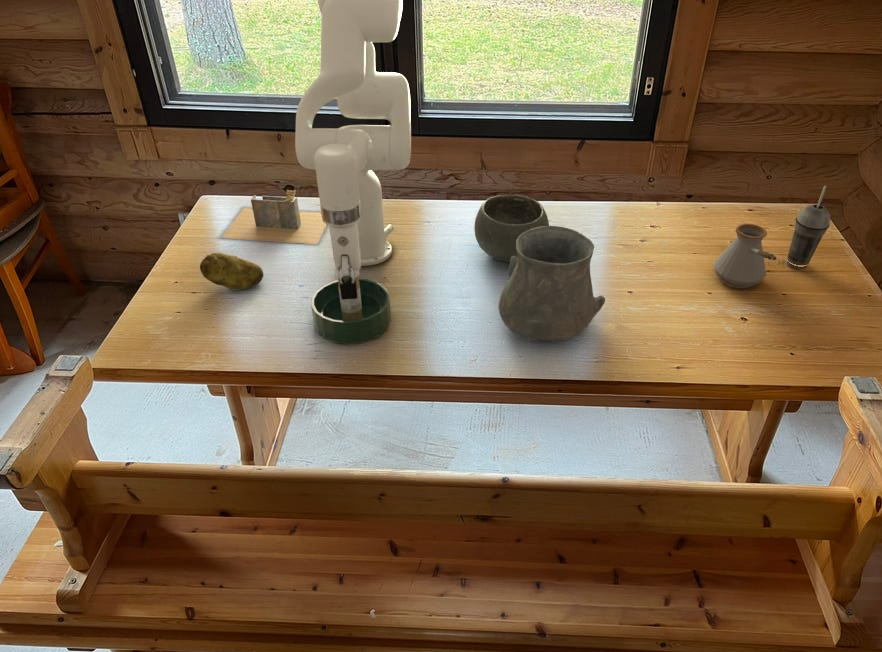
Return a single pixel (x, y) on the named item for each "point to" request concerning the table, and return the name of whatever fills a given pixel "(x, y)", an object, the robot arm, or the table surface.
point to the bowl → (506, 223)
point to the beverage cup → (808, 233)
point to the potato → (230, 271)
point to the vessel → (550, 285)
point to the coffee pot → (744, 258)
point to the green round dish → (355, 331)
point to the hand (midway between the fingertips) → (349, 284)
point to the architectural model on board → (277, 222)
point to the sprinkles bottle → (351, 301)
